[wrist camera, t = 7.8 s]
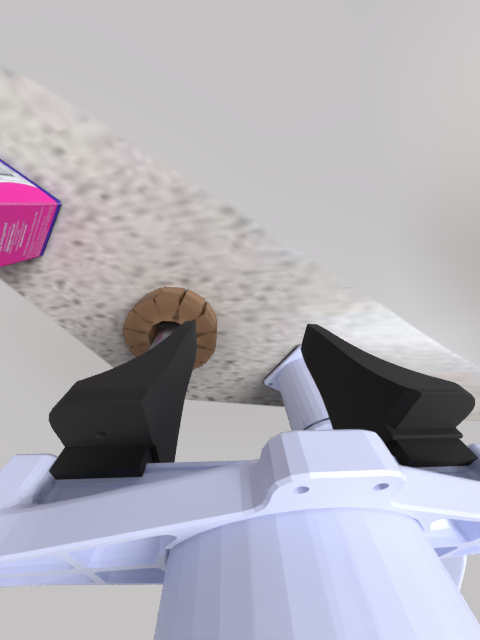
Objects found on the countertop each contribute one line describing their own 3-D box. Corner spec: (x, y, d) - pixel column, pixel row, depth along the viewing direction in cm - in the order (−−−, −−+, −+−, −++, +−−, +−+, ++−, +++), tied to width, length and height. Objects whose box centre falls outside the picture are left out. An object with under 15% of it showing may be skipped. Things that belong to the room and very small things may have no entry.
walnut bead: (232, 314, 22) (232, 328, 19) (193, 365, 25) (190, 382, 23) (156, 270, 19) (144, 280, 16) (124, 334, 23) (111, 350, 20)
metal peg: (194, 321, 22) (184, 355, 17) (183, 337, 23) (170, 375, 18) (171, 308, 21) (154, 341, 16) (161, 327, 22) (140, 362, 17)
